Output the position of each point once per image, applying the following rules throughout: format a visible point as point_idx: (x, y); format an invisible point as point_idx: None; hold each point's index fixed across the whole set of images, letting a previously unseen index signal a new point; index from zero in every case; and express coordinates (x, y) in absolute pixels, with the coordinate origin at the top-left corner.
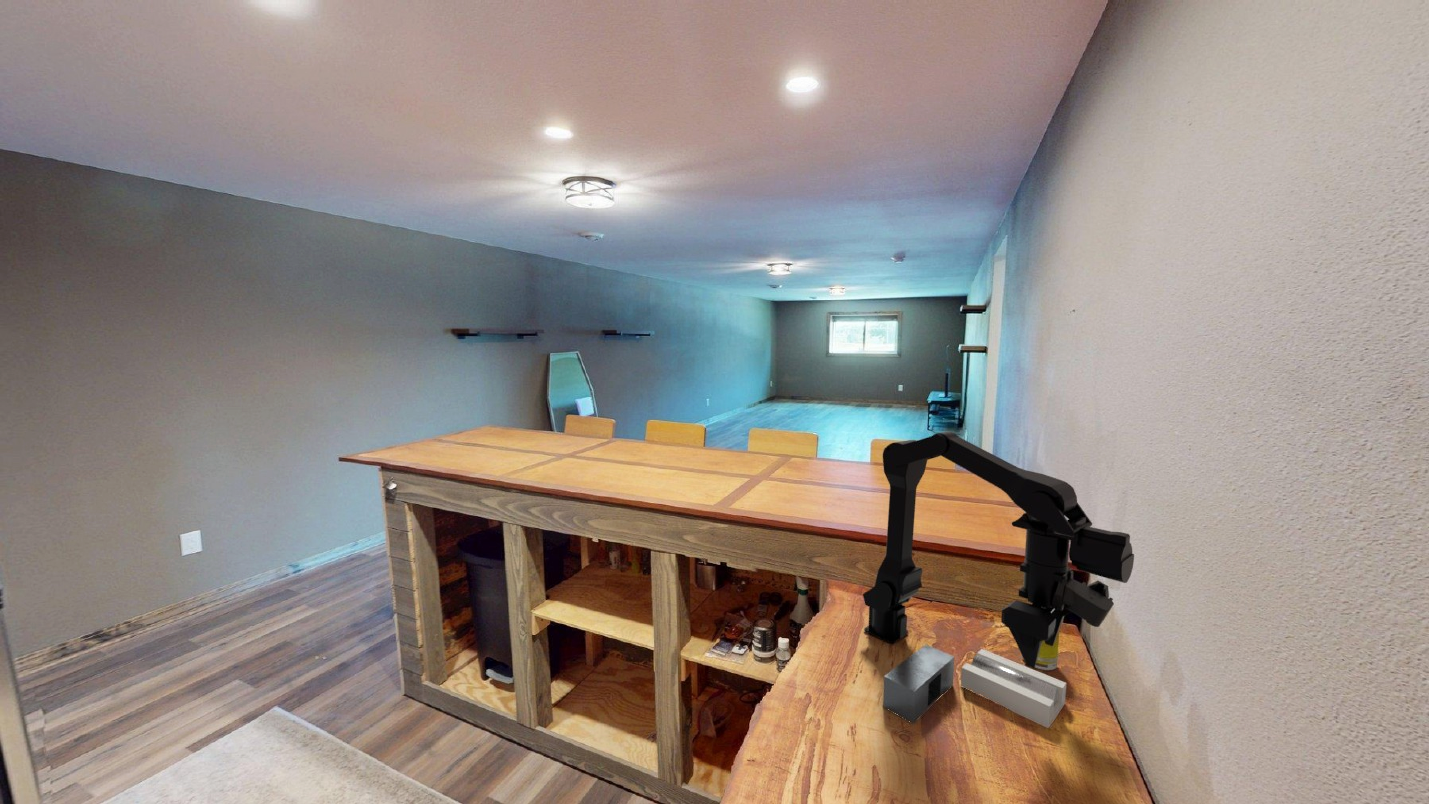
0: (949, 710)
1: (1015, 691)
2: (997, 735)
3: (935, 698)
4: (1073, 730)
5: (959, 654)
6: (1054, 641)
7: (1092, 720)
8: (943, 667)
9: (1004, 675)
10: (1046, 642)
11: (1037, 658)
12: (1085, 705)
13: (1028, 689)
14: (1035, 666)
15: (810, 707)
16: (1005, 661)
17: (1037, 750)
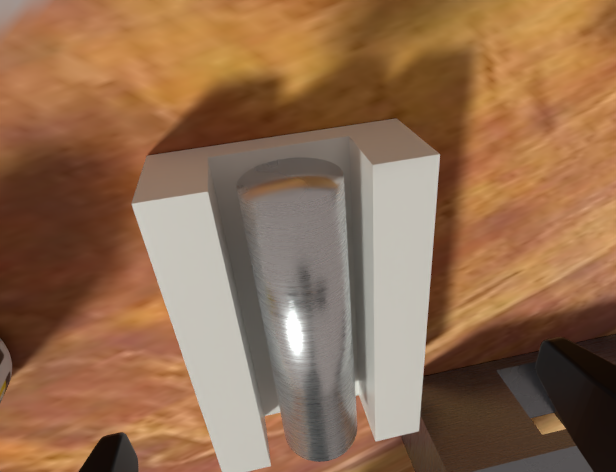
0: (529, 322)
1: (428, 282)
2: (560, 198)
3: (523, 364)
4: (323, 46)
5: (213, 463)
6: (97, 466)
7: (156, 17)
8: (534, 449)
9: (348, 356)
10: (136, 467)
11: (608, 385)
12: (55, 92)
13: (347, 267)
14: (4, 344)
15: None
16: (229, 406)
17: (560, 84)
